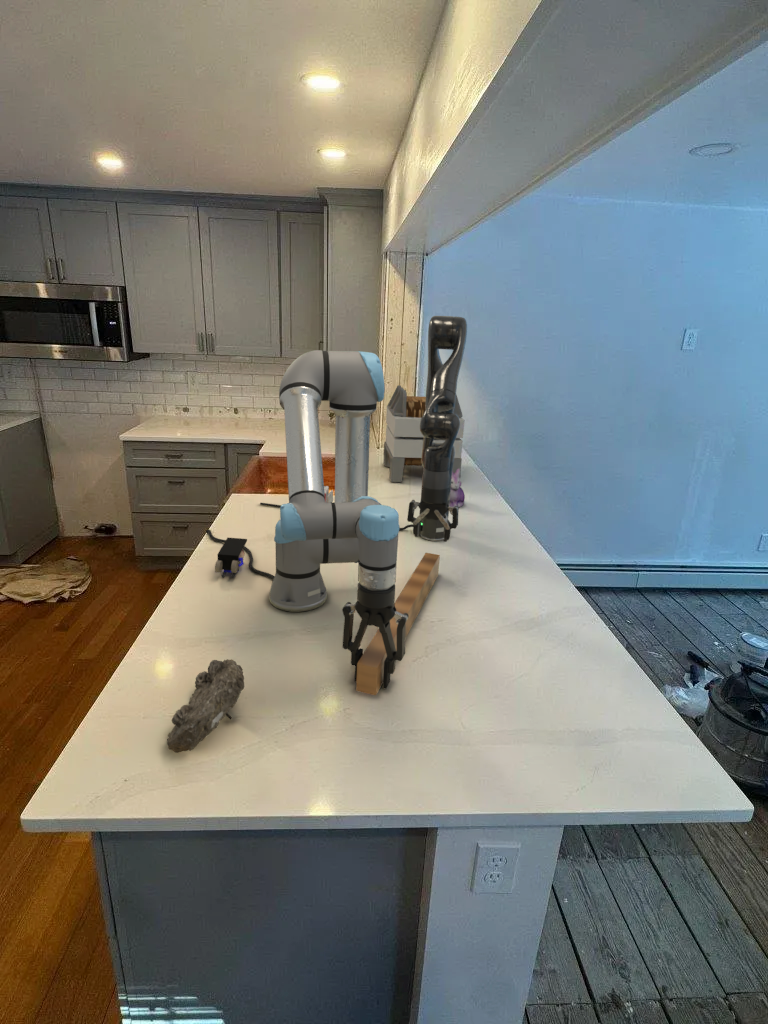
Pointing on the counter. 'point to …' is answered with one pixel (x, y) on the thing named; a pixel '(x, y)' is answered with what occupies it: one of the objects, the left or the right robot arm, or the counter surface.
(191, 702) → the fossil
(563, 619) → the counter surface
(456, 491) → the figurine
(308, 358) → the left robot arm
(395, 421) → the grey crate stand
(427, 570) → the bar
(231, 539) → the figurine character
